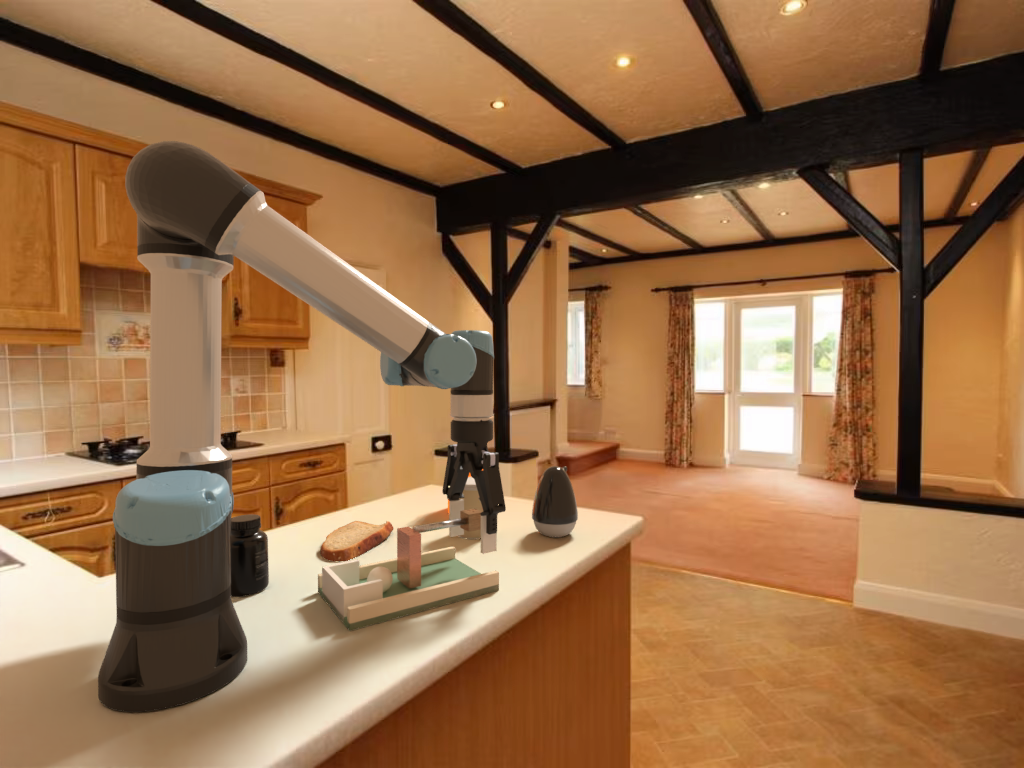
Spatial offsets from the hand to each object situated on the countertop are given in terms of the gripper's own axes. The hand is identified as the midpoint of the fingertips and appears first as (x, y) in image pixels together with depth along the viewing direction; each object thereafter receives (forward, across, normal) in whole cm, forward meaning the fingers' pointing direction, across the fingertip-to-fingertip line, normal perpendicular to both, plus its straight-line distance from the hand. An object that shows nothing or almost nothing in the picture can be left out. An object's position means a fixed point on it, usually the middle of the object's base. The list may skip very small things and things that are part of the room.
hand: (471, 543), depth 96 cm
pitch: (+6, 0, +12) cm, 13 cm away
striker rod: (+4, 0, +6) cm, 7 cm away
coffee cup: (+6, +21, -13) cm, 25 cm away
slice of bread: (+6, +29, +10) cm, 32 cm away
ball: (+3, 0, +17) cm, 17 cm away
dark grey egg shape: (+6, +11, -28) cm, 31 cm away
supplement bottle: (+6, +16, +34) cm, 38 cm away
